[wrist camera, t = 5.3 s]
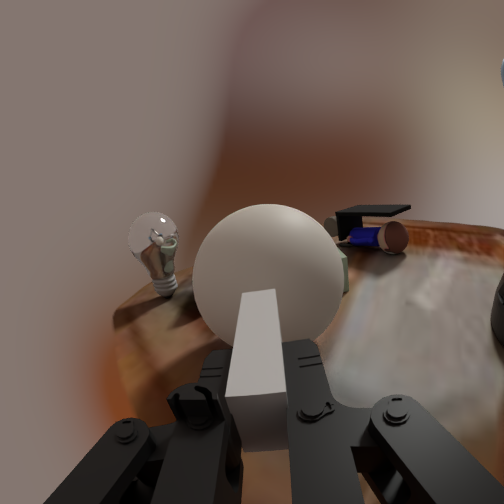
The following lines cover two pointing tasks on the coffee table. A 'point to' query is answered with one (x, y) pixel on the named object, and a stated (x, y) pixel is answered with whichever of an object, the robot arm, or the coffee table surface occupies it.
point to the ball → (269, 270)
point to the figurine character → (351, 227)
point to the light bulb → (156, 249)
